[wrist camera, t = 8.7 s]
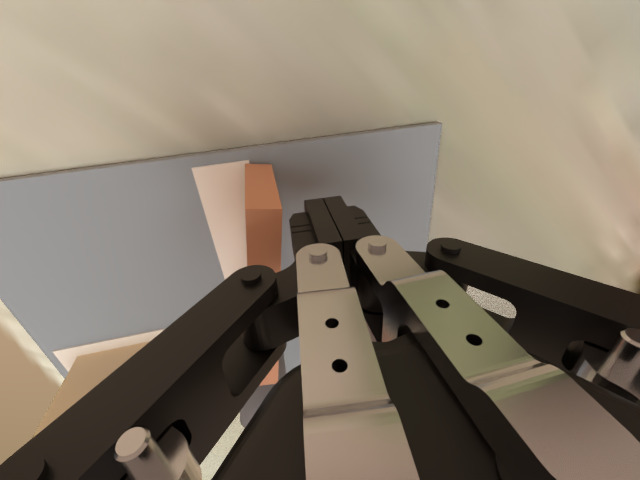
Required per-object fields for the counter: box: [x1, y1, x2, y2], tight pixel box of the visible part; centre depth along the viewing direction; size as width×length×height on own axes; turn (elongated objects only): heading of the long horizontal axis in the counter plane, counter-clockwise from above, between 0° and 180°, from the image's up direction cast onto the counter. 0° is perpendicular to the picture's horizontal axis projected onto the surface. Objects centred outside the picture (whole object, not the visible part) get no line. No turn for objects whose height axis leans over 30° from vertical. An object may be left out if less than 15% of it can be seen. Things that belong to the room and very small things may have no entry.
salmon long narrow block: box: [245, 164, 282, 386], centre depth 15 cm, size 9×1×5 cm, turn 175°
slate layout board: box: [0, 122, 442, 437], centre depth 17 cm, size 18×23×6 cm
